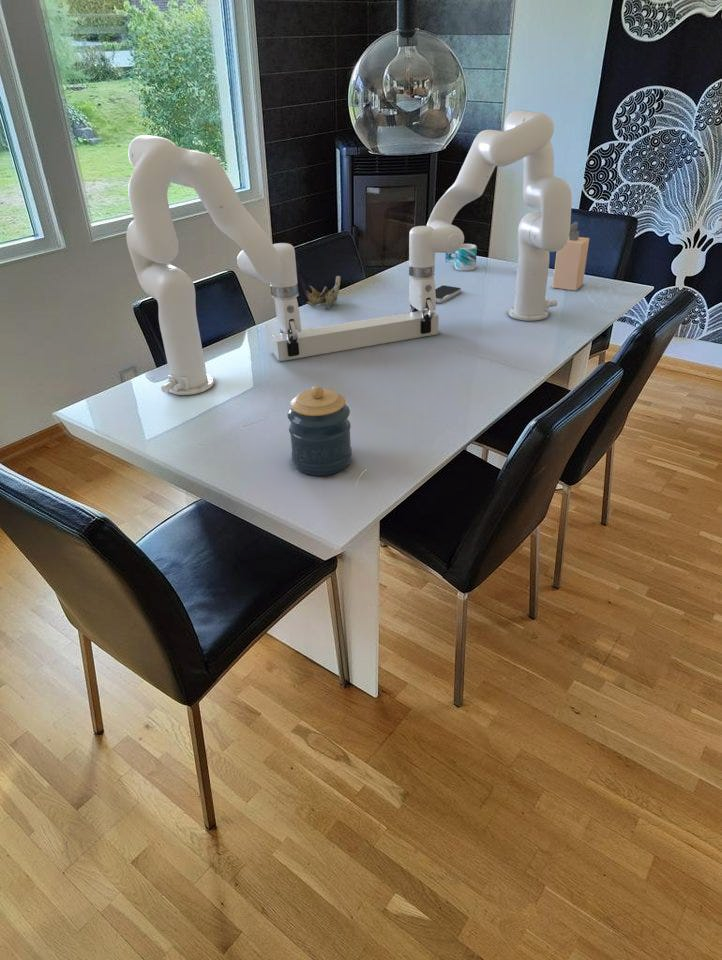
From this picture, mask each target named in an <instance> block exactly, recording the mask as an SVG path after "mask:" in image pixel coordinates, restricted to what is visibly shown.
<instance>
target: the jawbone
mask: <svg viewBox="0 0 722 960" xmlns="http://www.w3.org/2000/svg"><path fill="white" fill-rule="evenodd" d="M340 286H341V276H340V275H337V276H335V283H334V286H333V287H332V288H331V289H328V287H327V286H326V285H325V286H324V287H323V290H322V291H321V292H320V291H318V290H317V289H316V288H314V287H313V286H312V285H309V286H308V287H309V288H310V290H311V291H312V292H310V291H308V290H305V295H306V297H307V300H308V301H306V302H305V304H307V305H309V306H310V307H315V306H317V305H321V304H326V305H325V309H326V310H328V309H329V308H330V307H332V306H333V305H334V304H335V303H336V302H337V300H338V296H339V293H340V288H341V287H340Z"/></svg>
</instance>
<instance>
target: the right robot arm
mask: <svg viewBox="0 0 722 960" xmlns="http://www.w3.org/2000/svg"><path fill="white" fill-rule="evenodd" d="M554 131H555V126H554V121H553V120H552V118H551V117H550V116H549V115H548V114H546V113H543V112H539V111H538V112H536V111H530V110H514V111H512V112H510V113H509V114H508V115H507V116H506V118H505V120H504V124H503V130H496V129H484V130H481V131H480V132H478V134H477V135H476V136H475V138H474V139H473V142H472V144H471V146H470V148H469V150H468V151H467V152H468V153H467V155H466V157H465V159H464V161H463V164H462V165H461V168H460V170H459V173H458V175H457V176H456V179H455V181H454V182H453V183H452V185H451V186H450V187H449V188H447V190H446V191H445V192H444V193H443V195H442V196H441V197H440V198H439V199H438V201H437V202H436V203H435V205H434V207H433V209H432V211H431V213H430V215H429V218H428V220H427V223H426V225H416V226H414V227H412V228H411V229H410V230H409V233H408V234H409V235H408V255H409V256H408V277H409V283H408V284H409V286H408V301H409V302H408V303H409V306H410V312H416V311H420V312H421V316H422V321H421V334H425V333H430V332H431V320H432V317H433V314H434V313H435V311H436V309H437V302H436V292H435V289H436V280H435V268H436V267H435V266H436V253H439V254H440V253H441V254H443V253H445V254H446V253H452V252H455V251H457V250H459V249H460V248H461V247H462V245H463V244H465V235H464V232H463V230H461V228H459V227H458V226H456V225H454V224H452V223H453V221H454V219H455V217H456V216H457V214H458V212H459V211H461V209H462V208H463V207H465V206H466V205H467V204H469V203H471V202H473V201H476V200H477V199H478V198H480V197H481V196H483V193H484V192H485V190H486V187H487V185H488V184H489V181H490V179H491V176H492V174H493V173H494V171H495V168H496V167H501V168H503V167H507V166H509V165H512V164H515V163H516V162H518V161H520V160H522V163H523V164H522V165H523V177H522V180H523V181H522V197H523V201H524V204H525V205H526V206H527V207H530V208H532V209H534V210H538V211H530V212H528V213H526V214H525V215H524V216H523V217H521V219H520V221H519V223H518V227H517V242H518V243H517V244H518V256H517V257H518V258H517V270H516V281H515V282H516V283H515V290H514V291H515V292H514V301H513V302H514V303H513V304H514V305H513V306H512V307H510V308H509V310H508V313H507V314H508V315H509V317H511V318H512V319H515V320H518V321H524V322H535V321H542V320H544V319H546V318H548V317H549V310H548V309H549V308H555V307H557V306H558V301H557V300H555V299H554V300H550V299H546V293H547V285H548V276H549V268H550V253H554V252H556V253H557V251H558V250H560V249H562V248H563V247H564V245H565V244H566V242H567V240H568V237H569V236H570V225H571V223H572V221H571V219H572V217H571V216H572V205H573V204H572V203H573V201H572V200H573V196H572V190H571V186H570V185H569V184H568V182H567V181H566V180H564V179H563V178H561V177H557V176H555V164H554V163H555V161H554V158H555V157H554V155H555V154H554V148H553V144H552V141H551V139H552V138H553V135H554ZM424 310H425V311H424ZM426 312H428V314H426V316H425V315H424V313H426Z"/></svg>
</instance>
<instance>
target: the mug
mask: <svg viewBox="0 0 722 960" xmlns="http://www.w3.org/2000/svg"><path fill="white" fill-rule="evenodd" d="M477 249H478V246H477V245H476V244H472V243H463V245H462V247H461V248H460V249H459V250H457V251H455V252H452V253H445V263H451V264H454V268H455V270H457V271H465V272H466V271H467V272H468V271H473V270H475V269H476V268H477V254H478V253H477V252H478V250H477ZM452 255H455V256H452Z"/></svg>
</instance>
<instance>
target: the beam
mask: <svg viewBox="0 0 722 960" xmlns="http://www.w3.org/2000/svg"><path fill="white" fill-rule="evenodd" d="M425 310H426V309H424V311H425ZM426 314H428V312H426V313H424V315H425V316H426ZM439 317H440V316H439V314H437V313H436V312H434V314H433V317H432V320H431V332H430V333H425V334H421V321H422V316H421V312H420V311H416V312H411V311H409V312H405V313H398V314H397V313H396V314H392V315H384V316H380V317H379V316H378V317H373V318H367V319H361V320H354V321H348V322H342V323H335V324H329V325H323V326H317V327H311V328H303V329H301V332H299V331H297V330H296V331H297V337H298V345H299V355H297V356H291V357H289V356H288V349H287V343H288V340H287V334H286V333H281V332H279V333H273V334H271V340H272V350H273V355H274V356H275V358H276V359H277V360H278V361H279V362H284V361H291V360H296V359H301V358H307V357H313V356H319V355H325V354H331V353H337V352H342V351H348V350H353V349H359V348H365V347H370V346H377V345H383V344H390V343H395V342H401V341H407V340H413V339H417V338H424V337H430V336H434V335H439V320H440V318H439ZM289 336H290V337H291V336H292V334H290V335H289Z"/></svg>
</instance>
